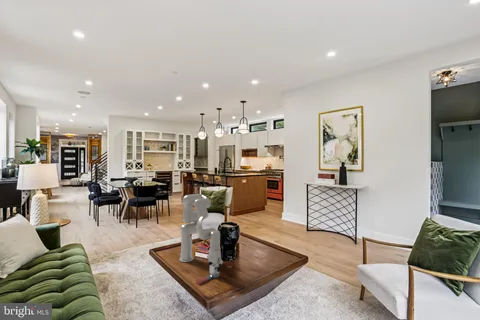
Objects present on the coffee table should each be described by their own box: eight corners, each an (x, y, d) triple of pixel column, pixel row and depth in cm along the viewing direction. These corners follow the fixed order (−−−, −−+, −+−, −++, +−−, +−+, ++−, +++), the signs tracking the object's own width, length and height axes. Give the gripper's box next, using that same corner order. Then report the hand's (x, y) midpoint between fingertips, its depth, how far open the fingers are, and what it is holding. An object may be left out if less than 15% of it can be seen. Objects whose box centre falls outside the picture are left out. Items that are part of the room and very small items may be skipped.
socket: (209, 272, 190) (209, 265, 190) (214, 270, 194) (214, 263, 194) (214, 275, 187) (214, 267, 187) (219, 272, 191) (219, 265, 191)
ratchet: (194, 282, 181) (194, 270, 180) (214, 273, 195) (215, 262, 195) (200, 285, 176) (200, 273, 176) (221, 276, 191) (221, 265, 190)
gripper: (203, 245, 193) (203, 267, 193) (219, 251, 182) (218, 274, 182) (211, 243, 199) (210, 264, 199) (226, 248, 187) (226, 271, 187)
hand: (214, 269), depth 190 cm, fingers open, 9 cm apart
